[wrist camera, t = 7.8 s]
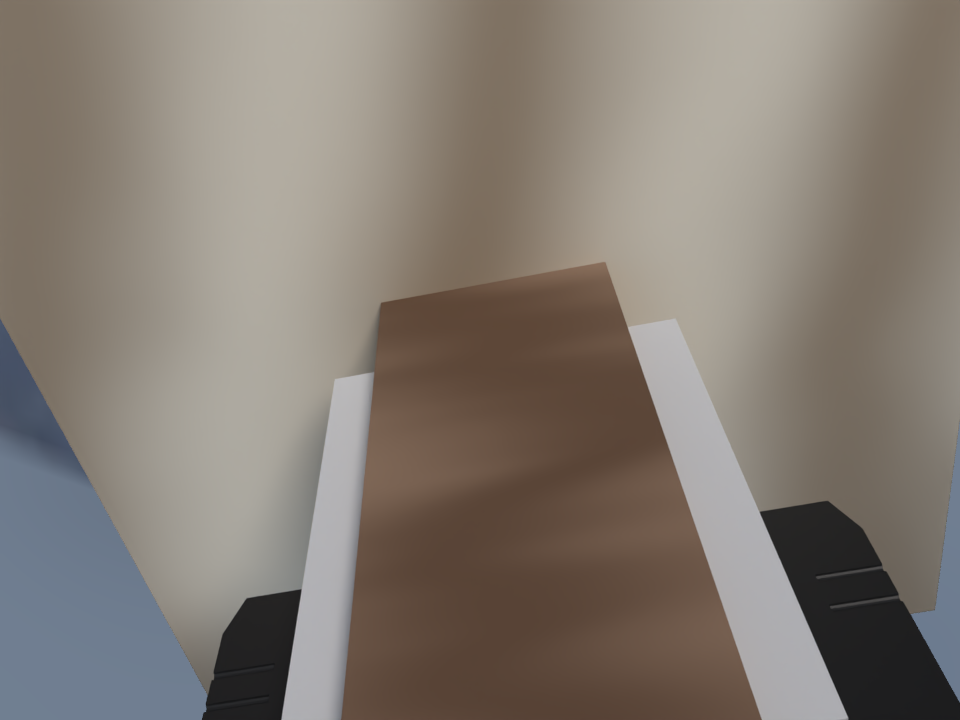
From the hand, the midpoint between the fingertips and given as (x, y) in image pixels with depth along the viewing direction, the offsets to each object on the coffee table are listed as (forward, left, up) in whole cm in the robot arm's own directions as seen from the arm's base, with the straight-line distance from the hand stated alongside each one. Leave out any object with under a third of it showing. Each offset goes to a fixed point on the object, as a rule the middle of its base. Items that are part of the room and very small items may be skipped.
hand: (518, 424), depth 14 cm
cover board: (0, 0, -3) cm, 3 cm away
